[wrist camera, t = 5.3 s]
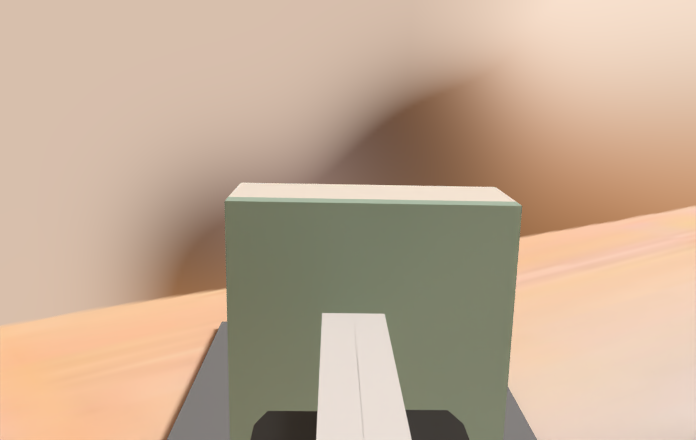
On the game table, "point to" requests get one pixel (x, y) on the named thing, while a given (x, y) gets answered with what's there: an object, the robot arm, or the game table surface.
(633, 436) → the game table surface
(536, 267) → the game table surface
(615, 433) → the game table surface
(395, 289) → the tile
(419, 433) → the robot arm
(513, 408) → the mat
